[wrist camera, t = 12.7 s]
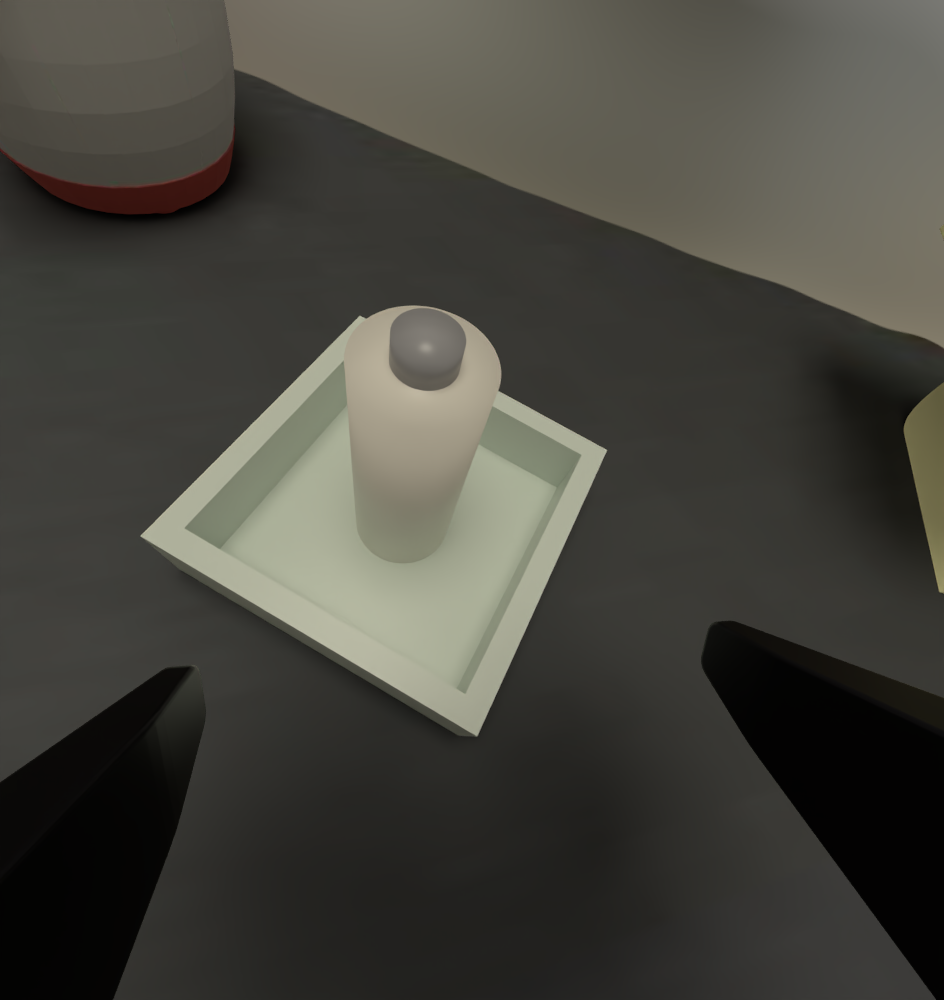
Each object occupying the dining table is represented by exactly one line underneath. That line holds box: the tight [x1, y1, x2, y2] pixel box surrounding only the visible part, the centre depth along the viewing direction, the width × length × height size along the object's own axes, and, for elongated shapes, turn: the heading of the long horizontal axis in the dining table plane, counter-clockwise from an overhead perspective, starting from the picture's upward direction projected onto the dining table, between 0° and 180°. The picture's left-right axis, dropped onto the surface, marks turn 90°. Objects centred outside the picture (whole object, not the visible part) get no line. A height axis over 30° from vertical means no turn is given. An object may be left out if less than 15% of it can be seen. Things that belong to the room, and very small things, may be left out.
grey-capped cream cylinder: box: [344, 306, 501, 563], centre depth 18 cm, size 4×4×12 cm
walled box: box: [141, 316, 607, 736], centre depth 22 cm, size 14×14×4 cm
